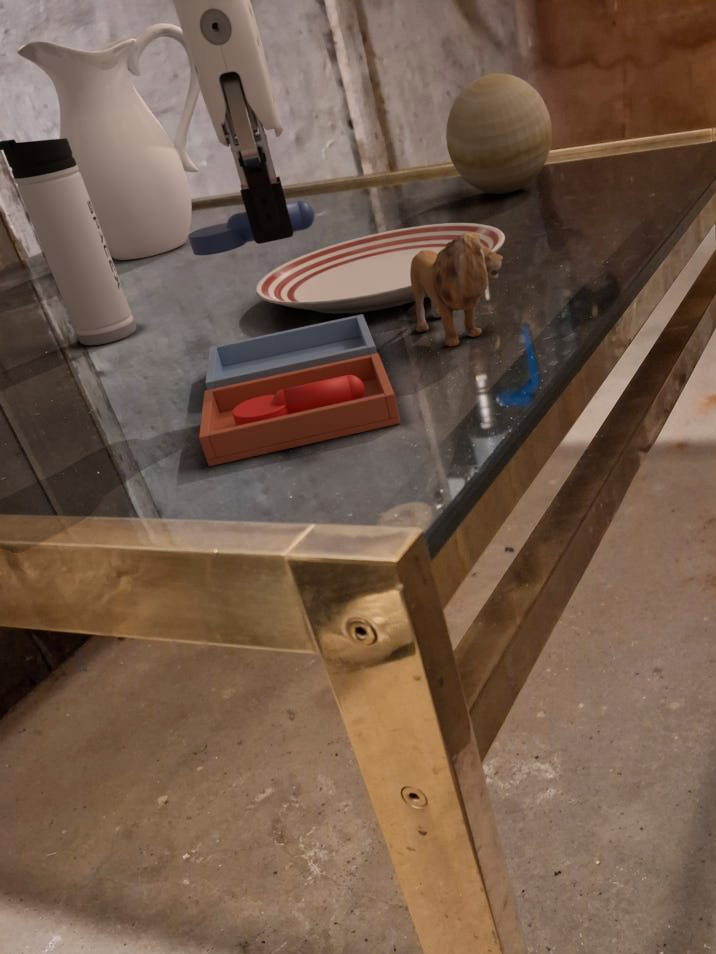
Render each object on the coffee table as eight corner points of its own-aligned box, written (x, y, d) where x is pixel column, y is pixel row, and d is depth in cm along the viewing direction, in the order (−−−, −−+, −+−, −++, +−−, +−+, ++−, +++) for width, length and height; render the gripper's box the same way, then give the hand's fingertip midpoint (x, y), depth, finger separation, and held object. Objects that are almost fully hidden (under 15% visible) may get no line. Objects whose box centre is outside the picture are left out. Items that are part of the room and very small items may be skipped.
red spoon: (364, 390, 74) (358, 364, 73) (370, 409, 70) (363, 381, 69) (237, 418, 73) (229, 392, 72) (236, 439, 69) (228, 411, 68)
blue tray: (213, 409, 77) (205, 382, 76) (217, 371, 86) (209, 346, 84) (381, 372, 78) (375, 345, 77) (368, 338, 87) (362, 313, 85)
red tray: (208, 466, 67) (198, 437, 66) (213, 417, 76) (204, 390, 74) (400, 423, 68) (394, 393, 67) (383, 379, 77) (378, 352, 75)
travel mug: (66, 345, 101) (-17, 143, 90) (115, 325, 106) (40, 129, 94) (100, 349, 98) (17, 140, 87) (148, 328, 102) (76, 125, 91)
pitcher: (99, 273, 132) (13, 44, 116) (90, 254, 145) (12, 47, 129) (259, 234, 138) (199, 11, 122) (236, 219, 151) (180, 17, 135)
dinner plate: (257, 349, 89) (247, 314, 87) (266, 281, 112) (258, 253, 110) (531, 294, 91) (527, 258, 89) (486, 238, 113) (482, 209, 111)
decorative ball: (564, 176, 139) (554, 60, 130) (547, 198, 127) (535, 72, 118) (468, 187, 143) (452, 75, 134) (444, 210, 131) (425, 89, 122)
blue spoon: (315, 222, 78) (309, 194, 76) (319, 231, 74) (311, 202, 73) (195, 248, 77) (185, 220, 75) (192, 259, 73) (182, 229, 72)
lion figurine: (520, 336, 80) (506, 227, 75) (470, 355, 78) (453, 244, 73) (431, 311, 91) (413, 214, 86) (385, 327, 89) (364, 228, 84)
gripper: (252, -57, 59) (325, 246, 69) (251, -43, 72) (313, 210, 82) (135, -35, 58) (227, 267, 69) (156, -24, 71) (231, 228, 82)
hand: (274, 234), depth 75 cm, fingers closed on blue spoon, 2 cm apart
